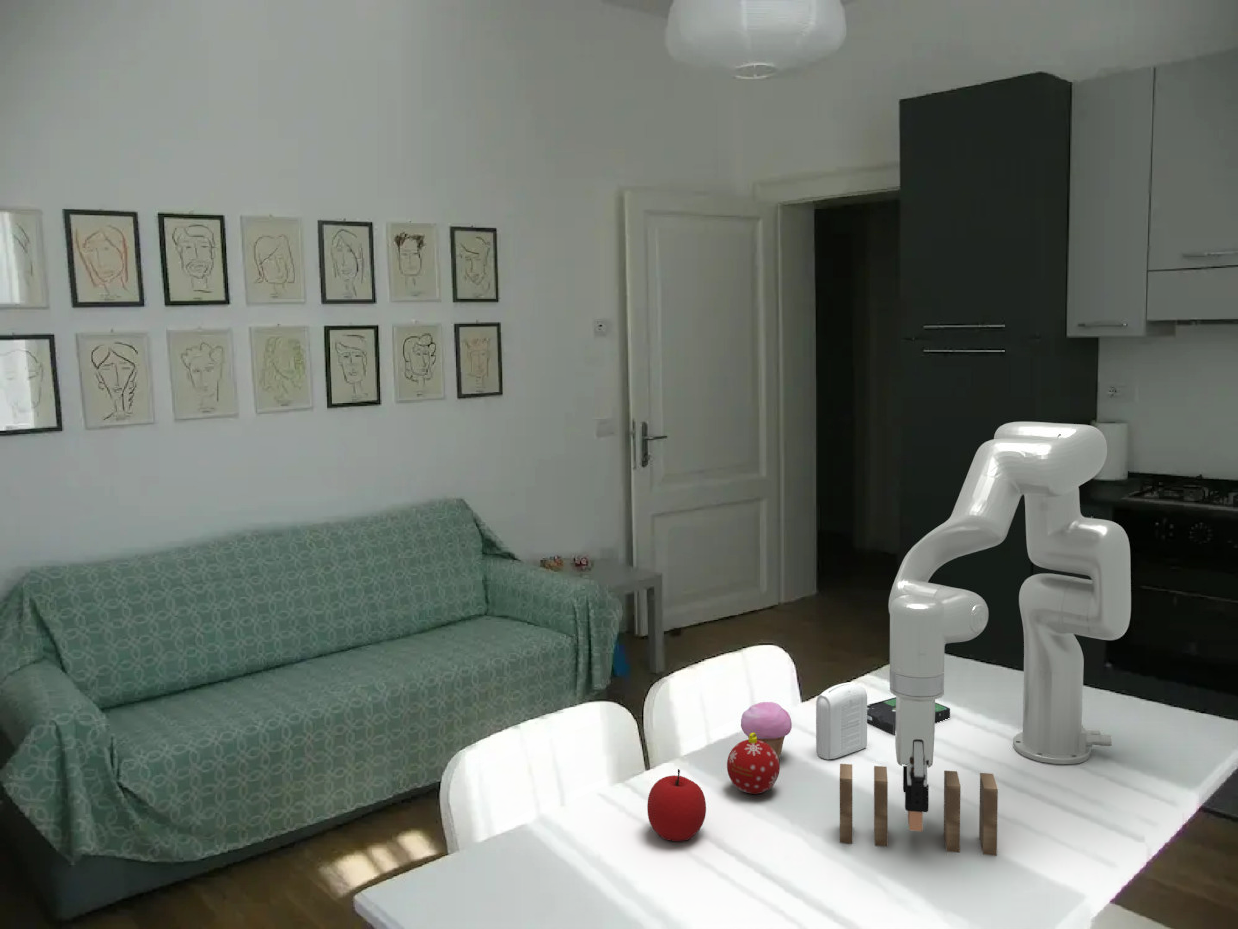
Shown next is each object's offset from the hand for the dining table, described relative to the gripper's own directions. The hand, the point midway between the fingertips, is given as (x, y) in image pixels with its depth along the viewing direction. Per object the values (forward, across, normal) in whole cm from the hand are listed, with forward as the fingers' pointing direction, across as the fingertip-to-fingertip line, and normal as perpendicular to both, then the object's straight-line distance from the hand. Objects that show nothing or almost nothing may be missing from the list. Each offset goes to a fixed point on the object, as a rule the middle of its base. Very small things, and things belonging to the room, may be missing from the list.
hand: (915, 800), depth 145 cm
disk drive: (+7, -47, 0) cm, 48 cm away
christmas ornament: (+7, -12, -25) cm, 28 cm away
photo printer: (+6, -30, -11) cm, 33 cm away
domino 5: (+6, 0, +10) cm, 12 cm away
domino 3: (+3, 0, 0) cm, 3 cm away
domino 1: (+6, 0, -10) cm, 12 cm away
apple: (+7, +4, -35) cm, 36 cm away
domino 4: (+6, 0, +5) cm, 8 cm away
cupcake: (+6, -25, -24) cm, 35 cm away
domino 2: (+6, 0, -5) cm, 8 cm away
